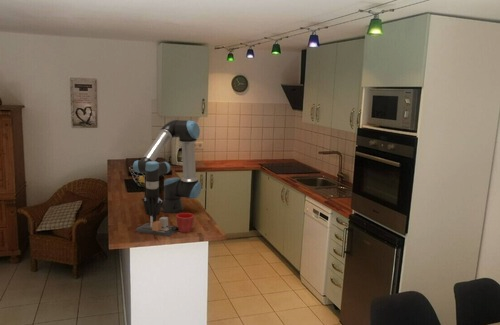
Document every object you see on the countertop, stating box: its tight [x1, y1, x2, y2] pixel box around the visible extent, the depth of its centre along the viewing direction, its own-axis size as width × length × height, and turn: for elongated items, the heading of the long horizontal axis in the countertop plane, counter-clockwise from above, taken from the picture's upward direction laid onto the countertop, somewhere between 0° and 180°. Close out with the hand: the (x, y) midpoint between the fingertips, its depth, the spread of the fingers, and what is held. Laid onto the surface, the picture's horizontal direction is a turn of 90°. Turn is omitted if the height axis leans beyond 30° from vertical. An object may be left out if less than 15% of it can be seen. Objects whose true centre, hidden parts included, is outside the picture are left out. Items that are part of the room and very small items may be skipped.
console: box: [135, 222, 179, 237], centre depth 254 cm, size 12×22×2 cm, turn 72°
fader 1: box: [152, 219, 162, 231], centre depth 249 cm, size 4×4×5 cm
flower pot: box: [175, 212, 195, 233], centre depth 255 cm, size 11×11×10 cm
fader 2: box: [158, 216, 169, 227], centre depth 256 cm, size 4×4×5 cm
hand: (152, 226), depth 250 cm, fingers closed
